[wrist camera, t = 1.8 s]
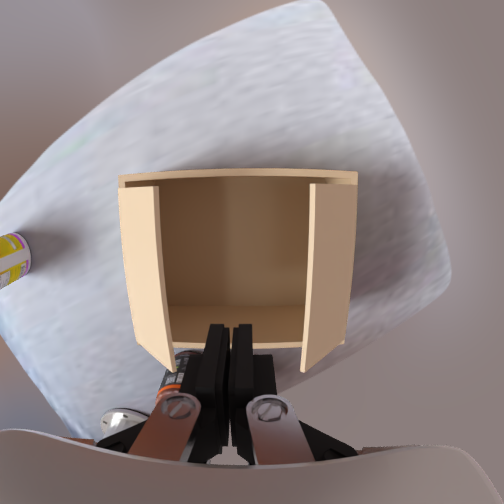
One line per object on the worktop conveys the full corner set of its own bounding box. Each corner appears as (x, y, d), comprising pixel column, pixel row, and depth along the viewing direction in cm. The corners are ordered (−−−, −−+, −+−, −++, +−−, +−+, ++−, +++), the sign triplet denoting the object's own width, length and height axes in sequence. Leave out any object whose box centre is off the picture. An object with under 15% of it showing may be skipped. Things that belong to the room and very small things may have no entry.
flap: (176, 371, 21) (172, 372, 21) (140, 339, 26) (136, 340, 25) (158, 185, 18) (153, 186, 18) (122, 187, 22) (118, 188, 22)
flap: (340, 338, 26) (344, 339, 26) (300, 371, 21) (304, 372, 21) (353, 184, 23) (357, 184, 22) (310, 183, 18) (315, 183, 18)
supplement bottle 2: (198, 390, 38) (186, 449, 27) (162, 368, 38) (140, 425, 27) (221, 365, 37) (214, 425, 26) (183, 341, 36) (163, 398, 25)
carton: (322, 306, 36) (343, 344, 27) (160, 307, 35) (137, 344, 26) (329, 172, 32) (357, 171, 23) (150, 175, 31) (118, 175, 23)
